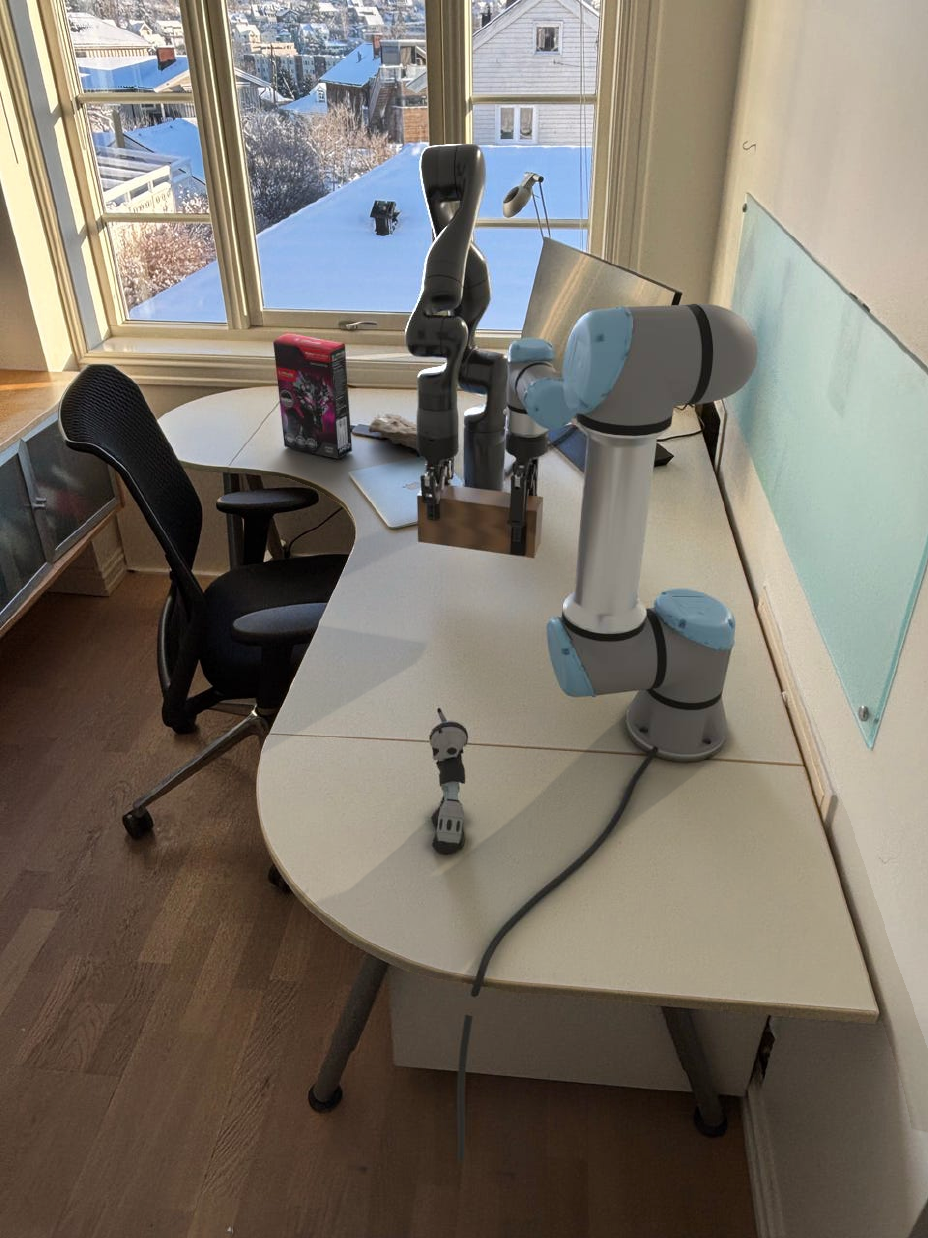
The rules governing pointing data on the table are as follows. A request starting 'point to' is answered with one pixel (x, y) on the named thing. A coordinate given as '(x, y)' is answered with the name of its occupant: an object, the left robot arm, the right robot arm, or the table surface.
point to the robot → (449, 784)
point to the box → (478, 520)
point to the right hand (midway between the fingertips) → (521, 545)
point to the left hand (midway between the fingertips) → (438, 511)
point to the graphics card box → (313, 395)
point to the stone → (395, 429)
